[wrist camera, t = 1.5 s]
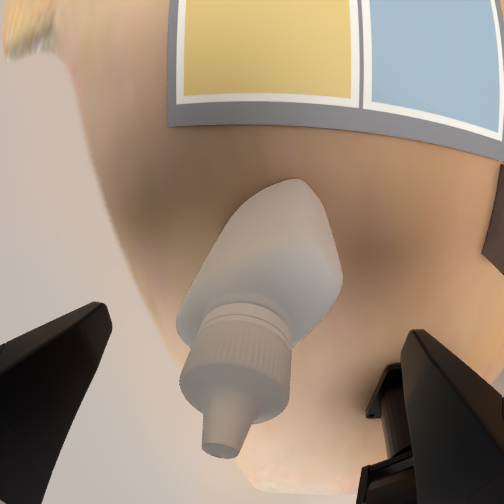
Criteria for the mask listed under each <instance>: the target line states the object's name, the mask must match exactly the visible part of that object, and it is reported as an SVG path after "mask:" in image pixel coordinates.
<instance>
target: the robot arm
mask: <svg viewBox="0 0 504 504" xmlns="http://www.w3.org/2000/svg"><path fill="white" fill-rule="evenodd" d="M111 332H112V322H111V319H110V315H109V312H108V309H107V306H106V305H105V304H104V303H100V302H92V303H89V304H87V305H85V306H83V307H81V308H78V309H76V310H74V311H72V312H70V313H68V314H65V315H63V316H61V317H59V318H57V319H55V320H53V321H50V322H48V323H46V324H44V325H42V326H40V327H38V328H36V329H34V330H31V331H29V332H27V333H25V334H23V335H21V336H19V337H17V338H14V339H12V340H11V341H8V342H7V343H6V344H5V343H4V344H2V345H0V504H41V503H42V500H43V497H44V494H45V492H46V489H47V486H48V483H49V480H50V477H51V475H52V471H53V469H54V466H55V464H56V461H57V459H58V456H59V453H60V450H61V449H62V446H63V444H64V441H65V439H66V436H67V434H68V432H69V429H70V427H71V425H72V422H73V420H74V418H75V416H76V413H77V411H78V409H79V407H80V405H81V402H82V400H83V398H84V396H85V394H86V392H87V389H88V387H89V385H90V383H91V381H92V379H93V377H94V375H95V373H96V371H97V368H98V366H99V363H100V361H101V358H102V355H103V353H104V350H105V347H106V345H107V342H108V340H109V337H110V334H111ZM365 414H366V418H368V419H372V418H381V419H382V425H383V431H384V437H385V444H386V451H387V458H388V459H387V460H384V461H382V462H379V463H376V464H373V465H367V466H364V467H362V471H361V477H360V482H359V488H358V494H357V500H356V504H504V397H502V395H501V394H500V393H498V392H497V391H496V390H495V389H494V388H493V387H492V386H491V385H489V384H488V383H487V382H486V381H485V380H484V379H483V378H481V377H480V376H479V375H478V374H477V373H476V372H474V371H473V370H472V369H471V368H470V367H469V366H467V365H466V364H465V363H464V362H463V361H461V360H460V359H459V358H458V357H457V356H455V355H454V354H453V353H452V352H451V351H449V350H448V349H447V348H446V347H445V346H443V345H442V344H441V343H440V342H439V341H437V340H436V339H435V338H434V337H432V336H431V335H430V334H429V333H427V332H426V331H425V330H423V329H413V330H411V331H410V332H409V333H408V336H407V338H406V341H405V343H404V346H403V348H402V351H401V365H391V366H389V367H387V368H386V370H385V372H384V374H383V377H382V379H381V381H380V383H379V385H378V388H377V390H376V392H375V394H374V396H373V398H372V400H371V402H370V404H369V406H368V408H367V410H366V413H365Z"/></svg>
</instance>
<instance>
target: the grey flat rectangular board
mask: <svg viewBox="0 0 504 504" xmlns="http://www.w3.org/2000/svg"><path fill="white" fill-rule="evenodd" d="M167 121H168V127H178V126H195V125H229V124H254V125H288V126H305V127H319V128H331V129H341V130H351V131H359V132H367V133H374V134H381V135H388V136H394V137H400V138H406V139H412V140H417V141H422V142H427V143H432V144H437V145H441V146H446V147H450V148H454V149H459V150H463V151H467V152H470V153H474V154H478V155H482V156H485V157H489V158H492V159H495V160H499V161H502V162H504V21H503V15H502V10H501V5H500V0H170V5H169V22H168V48H167Z"/></svg>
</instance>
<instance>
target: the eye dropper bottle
mask: <svg viewBox="0 0 504 504" xmlns="http://www.w3.org/2000/svg"><path fill="white" fill-rule="evenodd" d="M342 284H343V273H342V269H341V264H340V260H339V256H338V252H337V249H336V245H335V241H334V238H333V234H332V231H331V228H330V225H329V221H328V218H327V215H326V212H325V209H324V206H323V204H322V202H321V201H320V199H319V198H318V197H317V196H316V194H315V193H314V192H313V191H312V189H311V188H310V187H309V186H308V185H307V183H306V182H304V181H303V180H301V179H289V180H285V181H282V182H279V183H276V184H274V185H271V186H269V187H267V188H265V189H263V190H261V191H259V192H258V193H256V194H255V195H253V196H252V197H251V198H249V199H248V200H247V201H246V202H244V203H243V204H242V205H241V206H240V207H239V208H238V209H237V211H236V212H235V213H234V214H233V215H232V217H231V218H230V219H229V221H228V222H227V224H226V225H225V227H224V229H223V230H222V232H221V234H220V235H219V237H218V239H217V241H216V242H215V244H214V246H213V247H212V249H211V251H210V253H209V254H208V256H207V258H206V260H205V261H204V263H203V265H202V267H201V269H200V270H199V272H198V274H197V276H196V277H195V279H194V281H193V283H192V285H191V287H190V289H189V290H188V292H187V294H186V296H185V298H184V300H183V302H182V304H181V307H180V309H179V312H178V315H177V319H176V327H177V332H178V334H179V336H180V337H181V339H182V340H183V341H184V342H185V343H186V344H187V345H188V346H189V347H190V348H191V350H190V353H189V355H188V358H187V360H186V363H185V365H184V367H183V370H182V372H181V375H180V381H179V382H180V384H179V385H180V388H181V390H182V393H183V395H184V396H185V398H186V399H187V401H188V402H189V403H190V404H191V405H192V406H193V407H194V408H196V409H197V410H198V411H200V412H201V413H203V434H202V449H203V450H204V451H205V452H206V453H208V454H210V455H212V456H215V457H219V458H226V459H229V458H235V457H237V456H238V454H239V452H240V450H241V447H242V445H243V443H244V440H245V438H246V436H247V433H248V431H249V429H250V426H251V424H257V423H262V422H265V421H268V420H270V419H273V418H274V417H276V416H277V415H279V414H280V413H281V412H283V410H284V409H285V407H286V406H287V404H288V400H289V392H290V373H291V353H292V347H294V346H295V345H296V344H298V343H299V342H300V341H301V340H302V339H304V338H305V337H306V336H307V335H308V334H309V333H310V332H311V331H312V330H313V329H314V328H315V327H316V326H317V325H318V324H319V323H320V321H321V320H322V319H323V318H324V316H325V315H326V314H327V313H328V311H329V310H330V308H331V307H332V305H333V304H334V302H335V301H336V299H337V297H338V295H339V294H340V291H341V288H342Z"/></svg>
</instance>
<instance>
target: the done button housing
mask: <svg viewBox="0 0 504 504" xmlns="http://www.w3.org/2000/svg"><path fill="white" fill-rule="evenodd" d="M482 254H483V255H484V256H485V257H486V258H487V259H488V260H489V261H490V262H491V263H492V264H493V265H494V266H495V267H496V268H497V269H498V270H499V271H500V272H501V273H502V274H503V275H504V165H501V169H500V176H499V182H498V188H497V193H496V198H495V203H494V208H493V213H492V217H491V221H490V225H489V229H488V233H487V237H486V241H485V244H484V248H483V251H482Z"/></svg>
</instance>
